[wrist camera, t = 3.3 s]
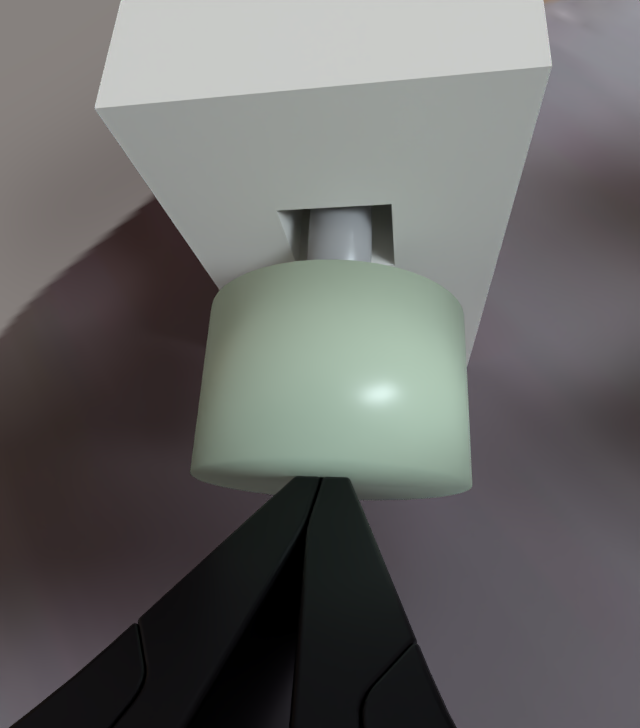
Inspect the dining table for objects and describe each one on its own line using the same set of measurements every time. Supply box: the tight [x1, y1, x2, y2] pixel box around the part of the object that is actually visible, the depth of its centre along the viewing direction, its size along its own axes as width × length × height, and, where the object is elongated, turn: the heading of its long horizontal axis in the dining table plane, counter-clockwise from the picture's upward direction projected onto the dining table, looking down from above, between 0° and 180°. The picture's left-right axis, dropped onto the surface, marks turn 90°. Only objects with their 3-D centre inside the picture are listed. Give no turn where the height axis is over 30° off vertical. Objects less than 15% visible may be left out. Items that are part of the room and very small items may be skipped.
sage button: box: [190, 205, 472, 500], centre depth 10 cm, size 6×4×4 cm
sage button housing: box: [95, 0, 552, 366], centre depth 13 cm, size 5×6×10 cm
